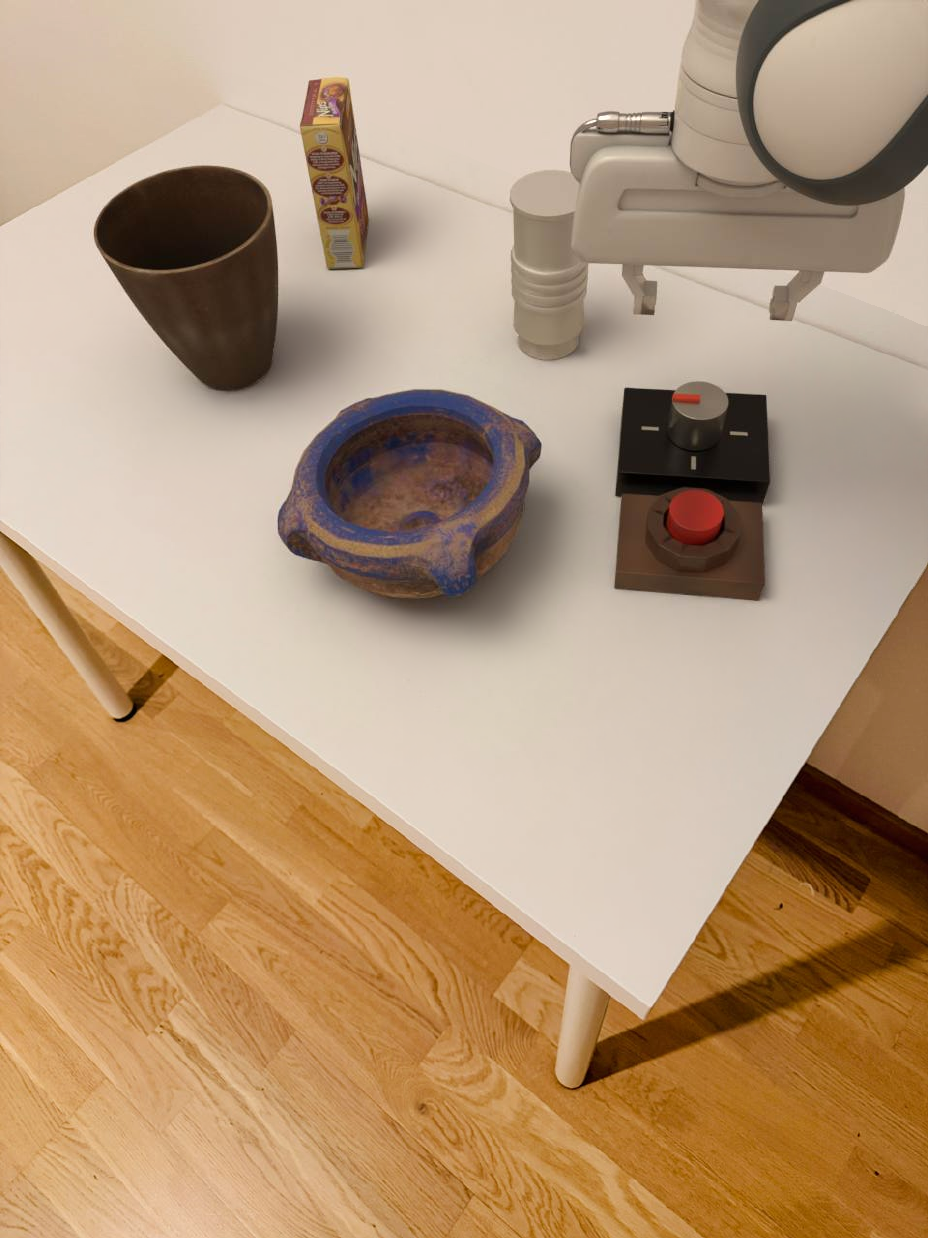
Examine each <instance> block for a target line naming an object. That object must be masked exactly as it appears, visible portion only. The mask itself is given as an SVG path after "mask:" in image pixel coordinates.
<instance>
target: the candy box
mask: <svg viewBox="0 0 928 1238" xmlns="http://www.w3.org/2000/svg"><path fill="white" fill-rule="evenodd" d="M350 87H351V86H350V81H349V78H347V77H338V76H337V77H326V78H319V79H309V80H308V82H307V89H306V94H305V100H304V105H303V110H302V116H301V120H300V123H299V130H300V134H301V139H302V146H303V150H304V155H305V161H306V167H307V171H308V172H307V173H308V176H309V182H310V185H311V192H312V197H313V204H314V208H315V213H316V218H317V223H318V229H319V234H320V239H321V243H322V249H323V254H324V255H323V256H324V261H325V265H326V269H327V270H337V269H338V270H340V269H341V270H343V269H362V268H364V263H365V251H366V244H367V237H368V230H369V223H370V216H369V210H368V204H367V203H368V202H367V196H366V188H365V183H364V176H363V168H362V160H361V154H360V148H359V147H360V146H359V141H358V136H357V127H356V121H355V115H354V114H355V113H354V109H353V103H352V93H351V88H350Z"/></svg>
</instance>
